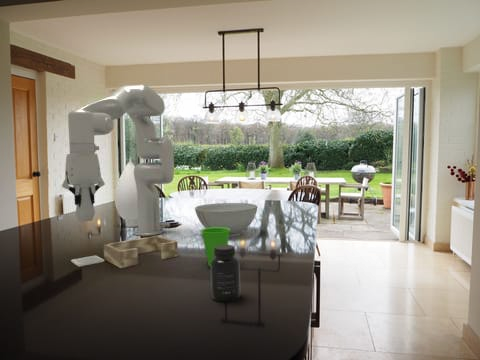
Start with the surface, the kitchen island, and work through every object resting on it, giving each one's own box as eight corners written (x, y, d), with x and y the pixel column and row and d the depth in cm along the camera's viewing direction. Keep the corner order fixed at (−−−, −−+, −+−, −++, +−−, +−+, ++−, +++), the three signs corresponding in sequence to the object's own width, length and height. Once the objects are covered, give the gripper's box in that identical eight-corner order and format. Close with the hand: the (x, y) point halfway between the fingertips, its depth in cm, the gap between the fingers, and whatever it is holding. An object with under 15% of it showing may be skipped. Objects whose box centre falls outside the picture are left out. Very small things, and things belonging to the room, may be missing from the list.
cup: (235, 262, 118) (234, 227, 117) (224, 270, 109) (223, 233, 108) (209, 260, 121) (208, 226, 120) (196, 268, 112) (195, 231, 111)
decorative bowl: (184, 239, 154) (183, 209, 153) (212, 227, 179) (212, 202, 178) (244, 243, 144) (243, 211, 143) (266, 230, 169) (265, 203, 168)
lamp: (139, 221, 200) (136, 156, 198) (154, 225, 188) (152, 155, 186) (110, 226, 189) (107, 156, 187) (124, 229, 178) (121, 155, 176)
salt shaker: (88, 222, 118) (86, 180, 117) (71, 222, 119) (69, 181, 118) (98, 219, 124) (96, 179, 123) (83, 219, 125) (81, 180, 124)
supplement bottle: (211, 292, 91) (209, 244, 91) (239, 291, 92) (238, 242, 91) (211, 303, 84) (210, 251, 84) (241, 301, 85) (240, 249, 84)
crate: (158, 249, 138) (158, 235, 137) (178, 256, 127) (177, 241, 126) (104, 259, 125) (103, 244, 125) (120, 268, 114) (119, 251, 114)
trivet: (95, 257, 128) (95, 255, 128) (104, 261, 122) (104, 259, 122) (71, 261, 123) (71, 259, 123) (78, 266, 117) (78, 264, 117)
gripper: (103, 150, 128) (105, 203, 129) (51, 150, 118) (54, 208, 119) (111, 149, 123) (114, 205, 124) (57, 149, 112) (60, 210, 113)
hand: (84, 206), depth 121 cm, fingers closed on salt shaker, 3 cm apart
